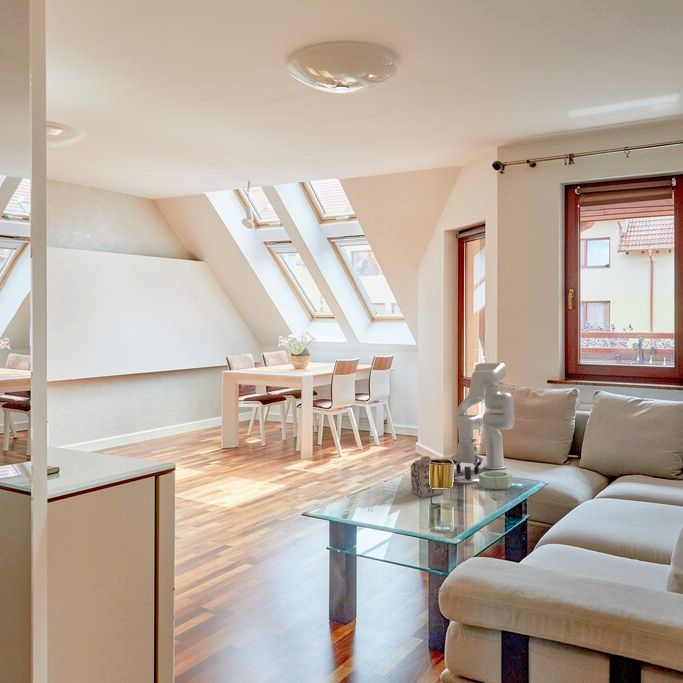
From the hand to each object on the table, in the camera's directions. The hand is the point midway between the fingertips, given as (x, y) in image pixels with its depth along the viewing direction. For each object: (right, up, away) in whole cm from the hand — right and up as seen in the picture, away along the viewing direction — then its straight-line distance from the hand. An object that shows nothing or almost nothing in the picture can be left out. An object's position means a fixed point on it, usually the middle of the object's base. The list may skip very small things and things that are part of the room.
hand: (467, 473), depth 352 cm
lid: (0, -3, 0) cm, 3 cm away
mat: (0, -4, 0) cm, 4 cm away
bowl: (+11, -4, -14) cm, 18 cm away
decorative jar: (-24, -6, -22) cm, 33 cm away
